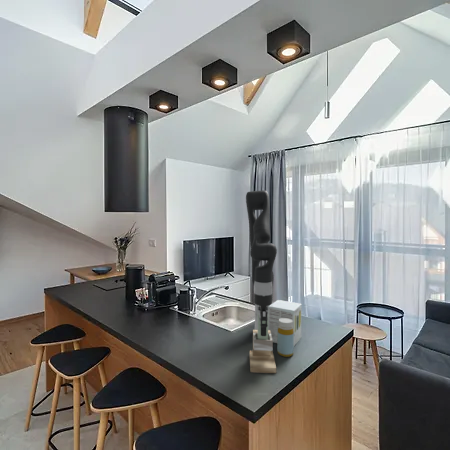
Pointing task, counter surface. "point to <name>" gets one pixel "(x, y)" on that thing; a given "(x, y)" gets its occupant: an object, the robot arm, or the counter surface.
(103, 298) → the counter surface
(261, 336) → the rail post
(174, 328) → the counter surface
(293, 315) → the supplement box
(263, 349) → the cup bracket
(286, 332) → the bottle
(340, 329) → the counter surface
